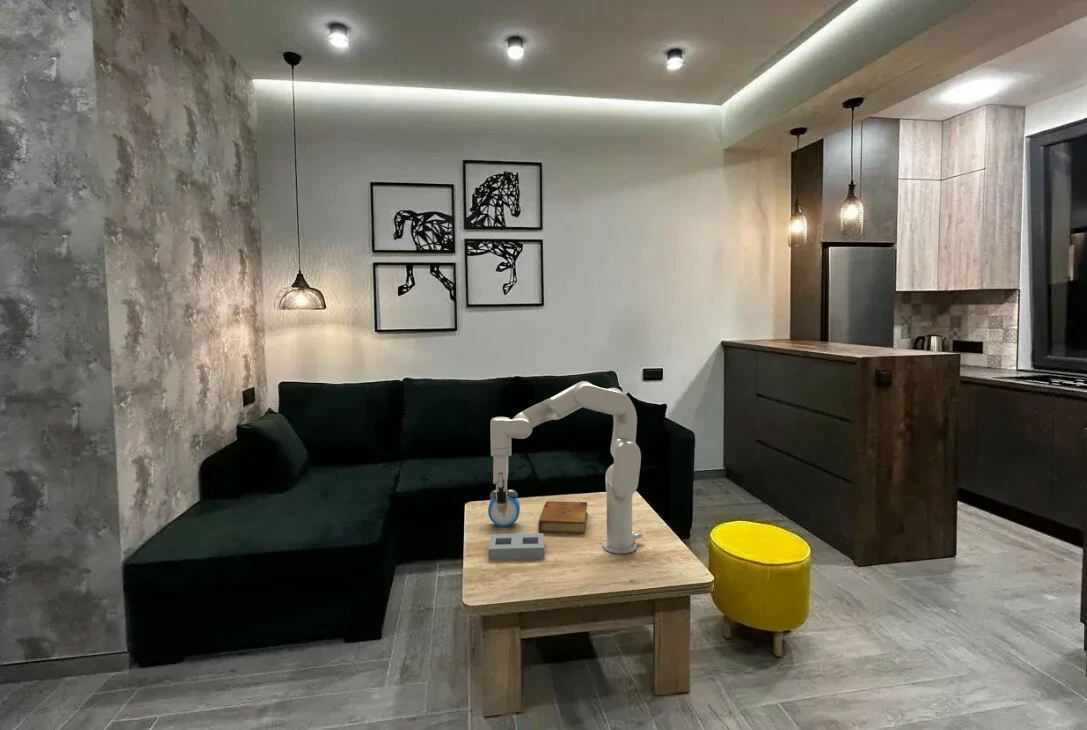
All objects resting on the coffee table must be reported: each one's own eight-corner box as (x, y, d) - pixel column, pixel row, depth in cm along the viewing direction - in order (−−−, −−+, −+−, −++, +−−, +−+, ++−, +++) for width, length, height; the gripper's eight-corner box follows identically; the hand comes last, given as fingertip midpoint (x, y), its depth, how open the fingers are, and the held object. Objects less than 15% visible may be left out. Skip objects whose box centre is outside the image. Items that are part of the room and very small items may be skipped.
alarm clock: (488, 527, 225) (487, 492, 224) (489, 522, 232) (488, 487, 230) (519, 527, 226) (519, 491, 224) (520, 521, 232) (519, 487, 230)
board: (543, 543, 209) (543, 533, 209) (544, 558, 196) (544, 547, 196) (491, 544, 209) (491, 534, 208) (488, 559, 196) (488, 549, 195)
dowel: (504, 509, 204) (504, 477, 203) (509, 512, 200) (509, 480, 199) (494, 511, 202) (493, 479, 200) (499, 514, 198) (498, 482, 197)
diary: (545, 513, 242) (545, 501, 242) (587, 514, 240) (587, 502, 239) (538, 533, 219) (538, 519, 219) (585, 535, 217) (584, 521, 217)
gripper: (492, 445, 207) (493, 492, 209) (489, 457, 190) (489, 507, 192) (512, 445, 207) (512, 492, 209) (510, 456, 191) (511, 507, 192)
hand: (501, 499), depth 200 cm, fingers closed on dowel, 4 cm apart
